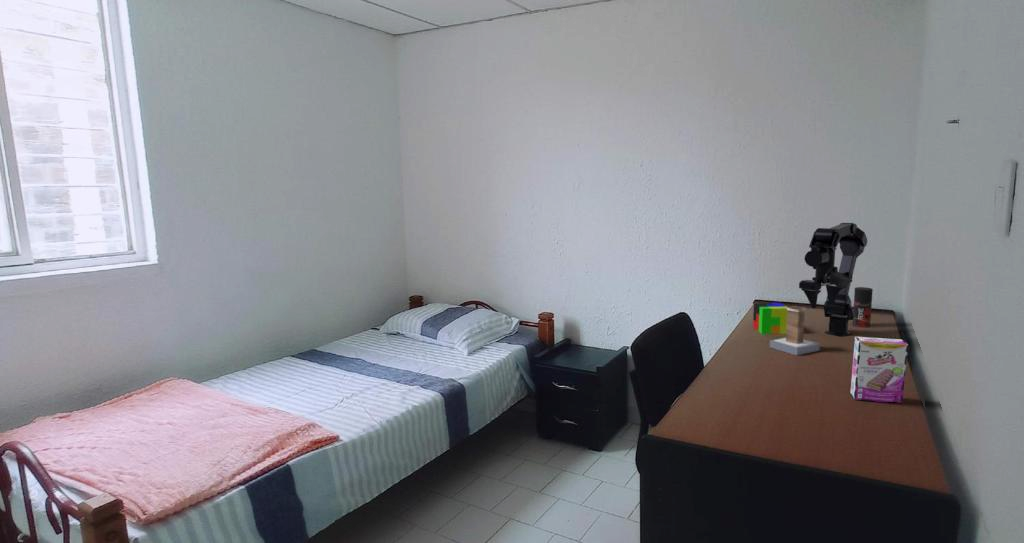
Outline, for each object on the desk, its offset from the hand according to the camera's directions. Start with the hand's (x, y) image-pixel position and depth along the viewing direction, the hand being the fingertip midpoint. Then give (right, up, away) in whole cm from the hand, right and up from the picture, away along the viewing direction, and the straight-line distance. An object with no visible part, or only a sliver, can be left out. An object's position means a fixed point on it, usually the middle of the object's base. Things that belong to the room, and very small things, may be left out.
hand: (822, 306), depth 197 cm
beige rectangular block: (-13, -12, -5) cm, 18 cm away
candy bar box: (-14, -22, -50) cm, 56 cm away
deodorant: (+28, -9, +22) cm, 36 cm away
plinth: (-13, -14, -5) cm, 20 cm away
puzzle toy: (-10, -11, +19) cm, 24 cm away
